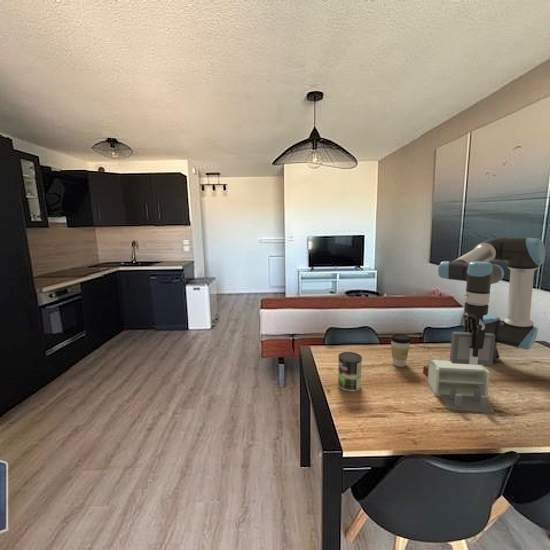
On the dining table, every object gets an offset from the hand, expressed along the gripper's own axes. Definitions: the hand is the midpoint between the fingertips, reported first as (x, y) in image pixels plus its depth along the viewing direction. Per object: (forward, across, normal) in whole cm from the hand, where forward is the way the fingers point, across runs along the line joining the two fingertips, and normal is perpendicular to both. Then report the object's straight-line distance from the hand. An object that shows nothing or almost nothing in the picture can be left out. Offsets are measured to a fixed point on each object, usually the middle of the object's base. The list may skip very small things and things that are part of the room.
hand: (471, 361), depth 118 cm
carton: (+19, -26, 0) cm, 33 cm away
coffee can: (+19, -10, -45) cm, 50 cm away
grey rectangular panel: (+1, 0, 0) cm, 1 cm away
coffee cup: (+19, -35, -18) cm, 44 cm away
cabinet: (+19, -6, 0) cm, 20 cm away
